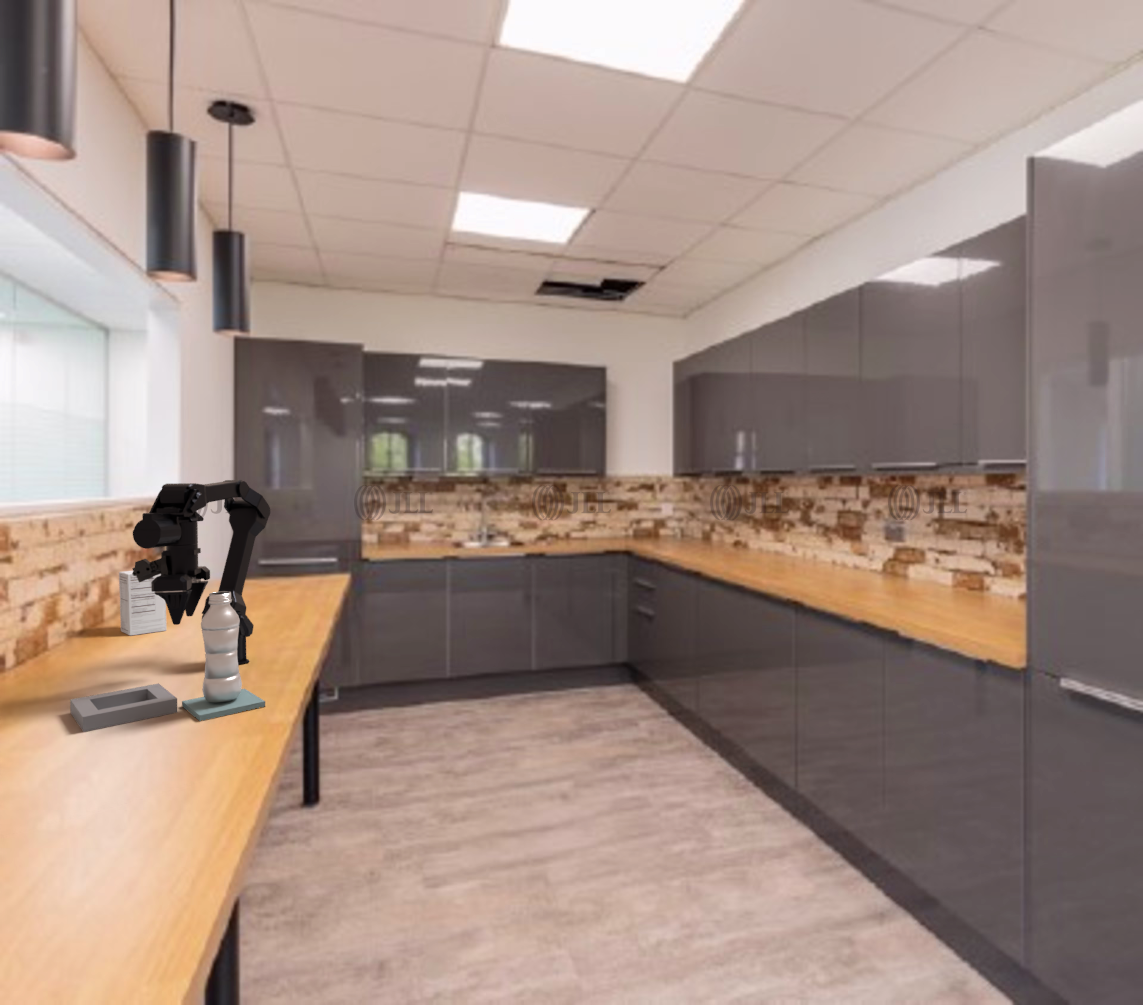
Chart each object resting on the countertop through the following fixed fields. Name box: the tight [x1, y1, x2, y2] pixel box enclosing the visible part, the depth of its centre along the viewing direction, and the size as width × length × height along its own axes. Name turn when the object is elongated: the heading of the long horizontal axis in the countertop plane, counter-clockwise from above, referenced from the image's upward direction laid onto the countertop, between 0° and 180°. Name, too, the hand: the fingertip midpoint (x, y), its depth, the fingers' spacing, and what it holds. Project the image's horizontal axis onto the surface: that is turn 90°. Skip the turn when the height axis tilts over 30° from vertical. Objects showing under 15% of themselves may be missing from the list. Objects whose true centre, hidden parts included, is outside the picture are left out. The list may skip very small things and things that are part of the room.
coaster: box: [181, 688, 266, 722], centre depth 128 cm, size 11×11×1 cm
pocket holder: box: [69, 682, 178, 733], centre depth 125 cm, size 14×13×2 cm
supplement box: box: [118, 570, 167, 637], centre depth 193 cm, size 10×9×17 cm
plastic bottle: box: [200, 591, 243, 702], centre depth 127 cm, size 6×7×20 cm
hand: (183, 620), depth 142 cm, fingers open, 9 cm apart
